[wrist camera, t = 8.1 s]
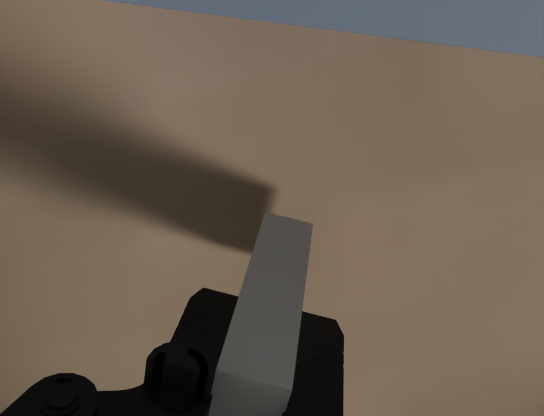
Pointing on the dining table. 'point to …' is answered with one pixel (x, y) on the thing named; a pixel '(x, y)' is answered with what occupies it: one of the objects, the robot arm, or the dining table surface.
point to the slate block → (396, 19)
